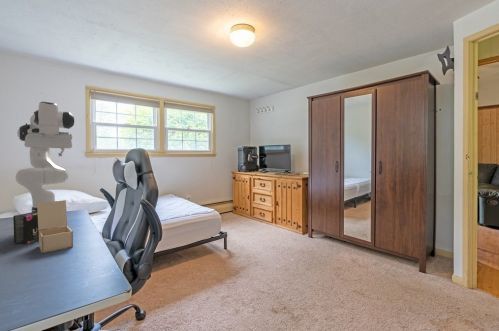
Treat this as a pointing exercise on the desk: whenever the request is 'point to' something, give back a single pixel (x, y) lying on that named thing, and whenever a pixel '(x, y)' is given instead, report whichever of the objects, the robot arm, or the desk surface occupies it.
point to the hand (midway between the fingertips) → (49, 156)
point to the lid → (52, 214)
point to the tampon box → (26, 228)
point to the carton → (55, 239)
